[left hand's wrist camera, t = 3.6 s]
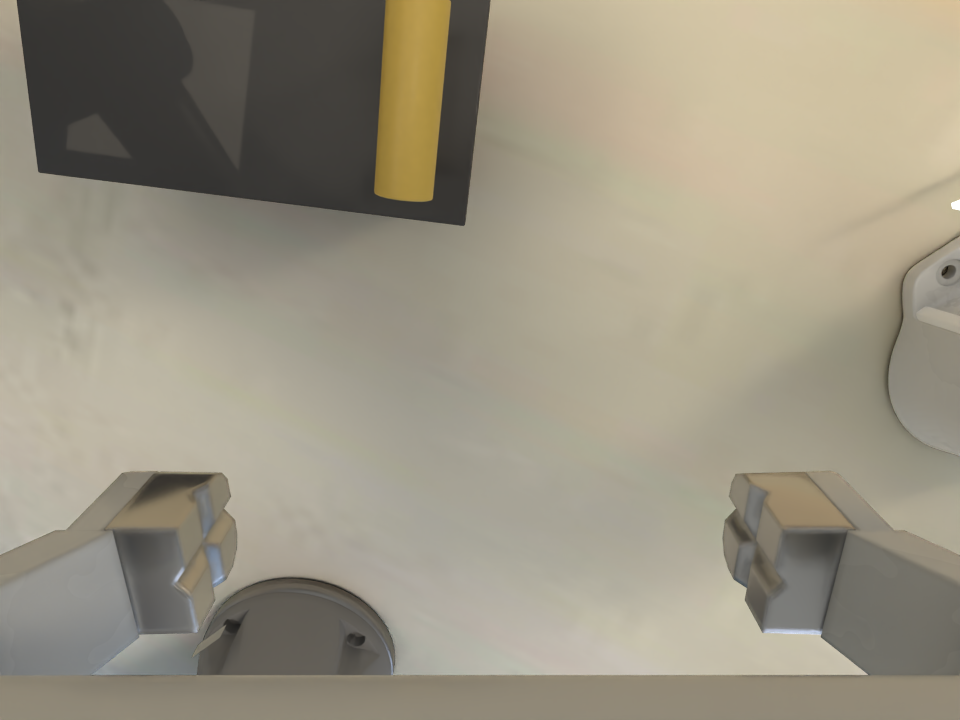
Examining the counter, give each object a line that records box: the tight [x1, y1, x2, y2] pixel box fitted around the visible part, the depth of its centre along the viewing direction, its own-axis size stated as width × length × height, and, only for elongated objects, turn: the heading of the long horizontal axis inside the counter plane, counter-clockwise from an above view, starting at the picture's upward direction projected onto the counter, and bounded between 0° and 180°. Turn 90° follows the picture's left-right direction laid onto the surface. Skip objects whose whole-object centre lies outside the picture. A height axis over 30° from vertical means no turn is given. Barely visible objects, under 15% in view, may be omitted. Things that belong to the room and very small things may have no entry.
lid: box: [17, 0, 491, 226], centre depth 23 cm, size 18×10×8 cm, turn 83°
